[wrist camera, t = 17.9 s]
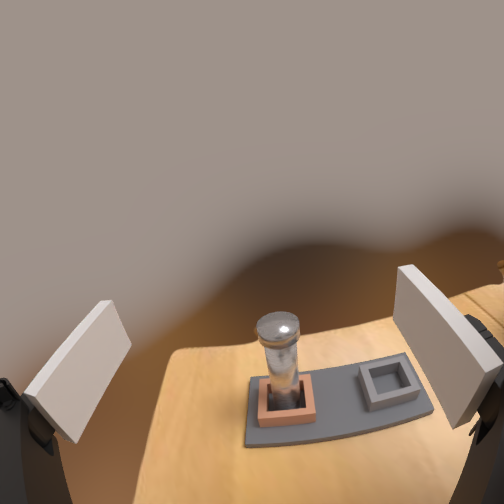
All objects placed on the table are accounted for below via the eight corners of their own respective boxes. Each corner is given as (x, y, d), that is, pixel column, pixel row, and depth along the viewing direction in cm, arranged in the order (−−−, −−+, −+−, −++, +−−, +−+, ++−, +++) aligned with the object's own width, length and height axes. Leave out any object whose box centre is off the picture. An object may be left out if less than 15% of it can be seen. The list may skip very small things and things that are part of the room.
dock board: (404, 356, 42) (407, 341, 41) (432, 413, 29) (439, 399, 28) (251, 381, 45) (248, 367, 43) (246, 447, 32) (241, 436, 30)
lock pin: (302, 391, 39) (297, 309, 34) (304, 415, 35) (300, 333, 29) (271, 394, 40) (257, 313, 34) (270, 418, 35) (255, 338, 30)
